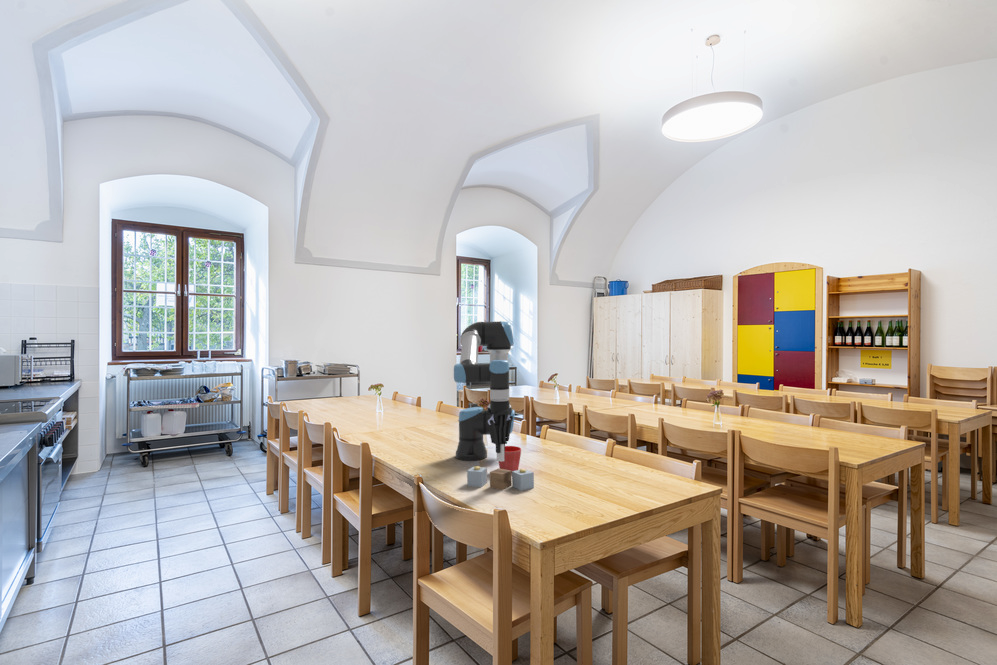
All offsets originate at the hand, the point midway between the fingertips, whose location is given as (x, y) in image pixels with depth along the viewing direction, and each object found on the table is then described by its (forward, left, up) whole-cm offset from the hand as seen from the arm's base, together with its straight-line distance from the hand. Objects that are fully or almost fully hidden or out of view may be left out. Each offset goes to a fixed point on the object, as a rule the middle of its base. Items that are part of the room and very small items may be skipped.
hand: (500, 460), depth 194 cm
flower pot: (-18, -12, -10) cm, 24 cm away
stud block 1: (+4, -9, -10) cm, 14 cm away
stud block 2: (-5, +7, -10) cm, 13 cm away
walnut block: (0, 0, -10) cm, 10 cm away
